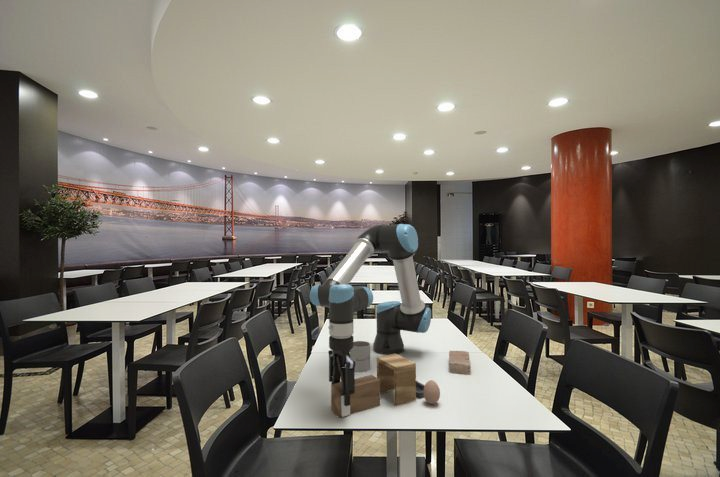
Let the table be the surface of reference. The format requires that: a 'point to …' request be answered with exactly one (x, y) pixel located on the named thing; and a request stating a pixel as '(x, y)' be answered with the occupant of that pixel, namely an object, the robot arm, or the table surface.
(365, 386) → the walnut block
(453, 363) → the brick
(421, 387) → the tray
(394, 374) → the tunnel
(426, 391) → the egg
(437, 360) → the table surface
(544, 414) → the table surface
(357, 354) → the mug
